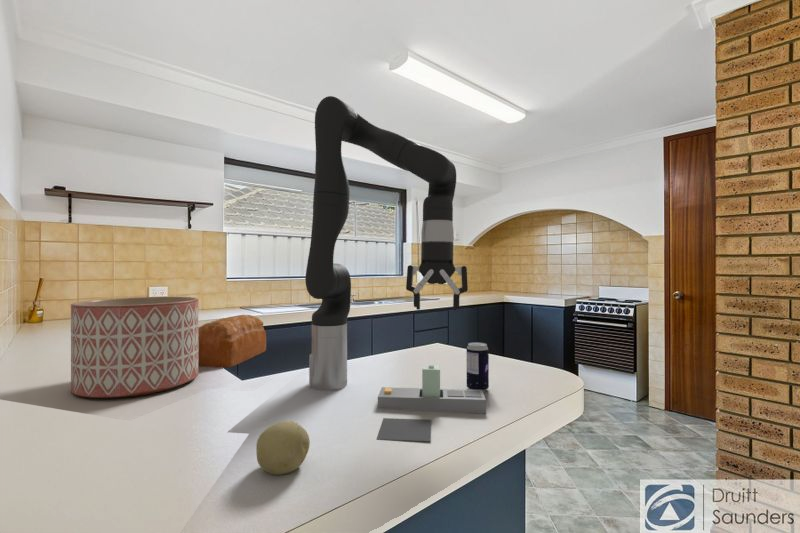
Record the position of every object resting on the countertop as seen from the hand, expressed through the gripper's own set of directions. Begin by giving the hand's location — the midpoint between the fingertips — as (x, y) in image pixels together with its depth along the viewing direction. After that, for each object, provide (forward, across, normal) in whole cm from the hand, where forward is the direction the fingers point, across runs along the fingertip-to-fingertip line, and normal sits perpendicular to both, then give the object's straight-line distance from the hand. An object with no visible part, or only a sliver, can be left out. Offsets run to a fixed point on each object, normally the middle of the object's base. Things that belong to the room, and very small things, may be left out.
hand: (436, 309), depth 91 cm
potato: (+23, -22, -34) cm, 46 cm away
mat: (+22, -5, -16) cm, 28 cm away
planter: (+24, -77, 0) cm, 81 cm away
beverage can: (+22, +11, +12) cm, 27 cm away
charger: (+21, -1, -2) cm, 21 cm away
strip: (+22, -1, -2) cm, 22 cm away
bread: (+24, -70, +31) cm, 80 cm away
